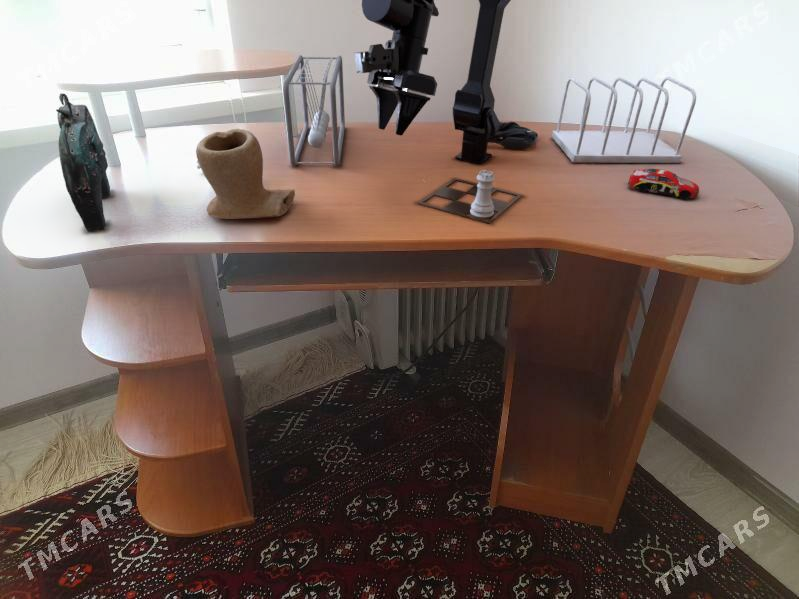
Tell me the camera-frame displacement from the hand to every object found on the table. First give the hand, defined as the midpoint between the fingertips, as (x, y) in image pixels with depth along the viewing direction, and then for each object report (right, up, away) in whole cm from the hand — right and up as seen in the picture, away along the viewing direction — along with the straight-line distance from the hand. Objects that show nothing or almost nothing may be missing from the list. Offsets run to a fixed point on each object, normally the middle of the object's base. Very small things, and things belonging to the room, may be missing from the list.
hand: (389, 132), depth 97 cm
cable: (+27, +9, +38) cm, 48 cm away
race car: (+55, -8, +14) cm, 57 cm away
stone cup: (-25, -15, +2) cm, 29 cm away
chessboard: (+16, -10, +9) cm, 21 cm away
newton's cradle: (-17, +7, +33) cm, 38 cm away
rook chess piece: (+17, -14, +4) cm, 22 cm away
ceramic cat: (-53, -13, +3) cm, 55 cm away
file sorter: (+53, +6, +33) cm, 63 cm away
